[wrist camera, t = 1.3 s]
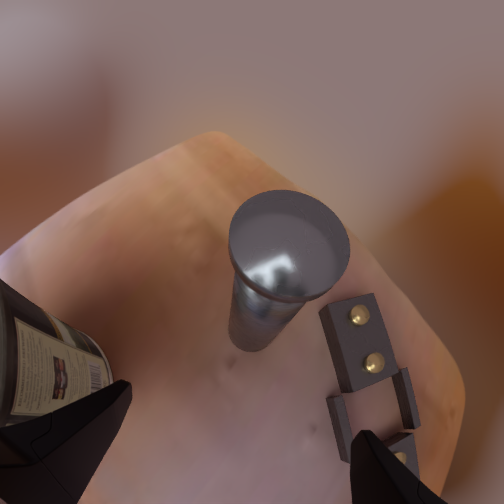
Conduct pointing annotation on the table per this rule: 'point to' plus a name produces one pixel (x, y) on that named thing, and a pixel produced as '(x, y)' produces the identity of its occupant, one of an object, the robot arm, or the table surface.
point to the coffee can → (43, 361)
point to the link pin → (281, 262)
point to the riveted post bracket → (366, 371)
